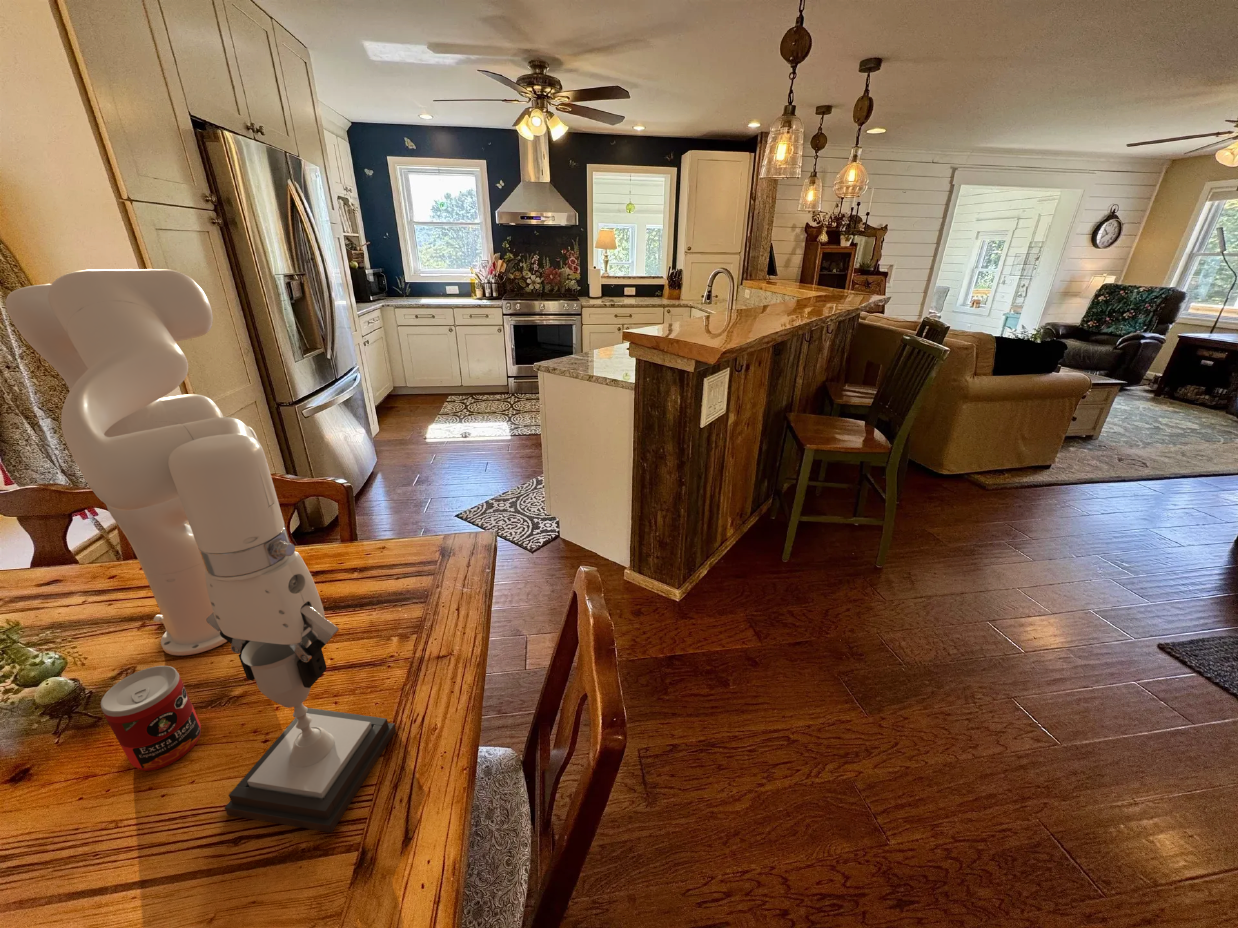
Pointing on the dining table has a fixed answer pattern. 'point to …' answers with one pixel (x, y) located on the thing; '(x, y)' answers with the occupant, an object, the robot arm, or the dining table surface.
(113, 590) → the dining table surface
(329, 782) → the pan
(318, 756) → the chalice
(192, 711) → the canned food
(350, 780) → the scale
